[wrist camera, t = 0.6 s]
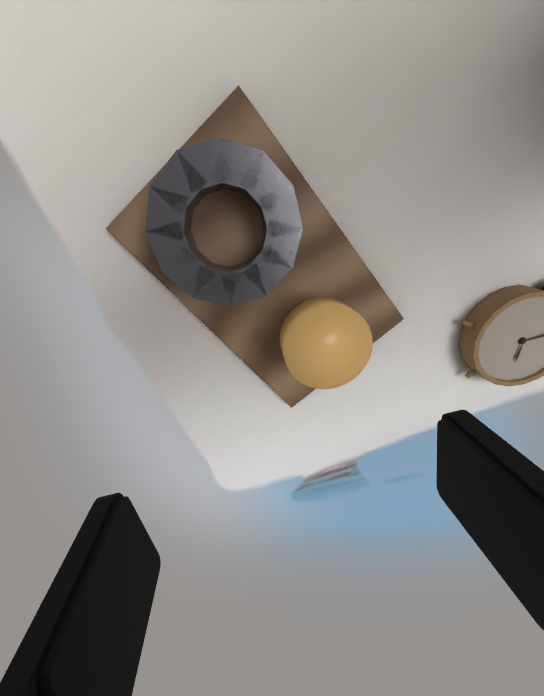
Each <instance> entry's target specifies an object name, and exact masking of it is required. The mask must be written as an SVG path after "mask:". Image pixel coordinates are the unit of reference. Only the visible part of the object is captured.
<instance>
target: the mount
mask: <svg viewBox="0 0 544 696" xmlns="http://www.w3.org/2000/svg"><path fill="white" fill-rule="evenodd" d="M217 137H222V138H225V139H228V140H231V141H235V142H238V143H241V144H244V145H247V146H250V147H253V148H257V149H260V150H263V151H264V152H265V153H266V154H267V156H268V157H269V158H270V159H271V160H272V161H273V163H274V164H275V165H276V166H277V167H278V168H279V169H280V171H281V172H282V173H283V174H284V175H285V176H286V177H287V179H288V180H289V181H290V182H291V183H292V184H293V186H294V190H295V195H296V199H297V204H298V208H299V213H300V217H301V221H302V226H303V231H302V234H301V238H300V242H299V246H298V250H297V253H296V257H295V261H294V265H293V268H292V269H291V270H290V271H289V272H288V274H287V275H286V276H285V277H284V278H283V279H282V280H281V281H280V282H279V283H278V284H277V285H276V286H275V287H274V288H273V289H272V290H271V292H270V293H269V294H268V295H267V296H264V297H261V298H258V299H254V300H251V301H248V302H245V303H241V304H238V305H235V306H232V307H231V306H226V305H222V304H217V303H212V302H208V301H203V300H198V299H194V298H193V297H191V296H190V295H189V294H188V293H187V292H185V291H184V290H183V289H182V288H181V287H179V286H178V285H177V284H176V283H175V282H173V281H172V280H171V279H170V278H169V277H168V276H166V275H165V274H164V273H163V272H162V270H161V268H160V266H159V263H158V261H157V258H156V256H155V254H154V251H153V249H152V247H151V244H150V242H149V240H148V237H147V235H146V233H145V227H146V216H147V206H148V195H149V186H150V185H151V183H152V182H153V181H154V179H155V178H156V177H157V175H158V174H159V173H160V171H161V170H162V169H163V168H164V166H165V165H166V164H167V163H166V164H165V165H164V166H163V168H162V169H161V170H160V171H159V172H158V173H157V174H156V175H155V176H154V177H153V178H152V179H151V180H150V182H149V183H148V184H147V185H146V186H145V187H144V188H143V189H142V190H141V191H140V192H139V193H138V195H137V196H136V197H135V198H134V199H133V200H132V201H131V202H130V203H129V204H128V205H127V206H126V207H125V209H124V210H123V211H122V212H121V213H120V214H119V215H118V216H117V217H116V218H115V219H114V220H113V221H112V223H111V224H110V225H109V226H108V227H107V228H106V229H107V230H108V231H109V232H110V233H111V234H112V235H113V236H114V237H115V238H116V239H117V240H118V241H119V242H120V243H121V244H122V245H123V246H124V247H125V248H126V249H127V250H128V251H129V252H130V253H132V254H133V255H134V256H135V257H136V258H137V259H138V260H139V261H140V262H141V263H142V264H143V265H144V266H145V267H146V268H147V269H148V270H149V271H150V272H151V273H152V274H153V275H154V276H155V277H156V278H157V279H159V280H160V281H161V282H162V283H163V284H164V285H165V286H166V287H167V288H168V289H169V290H170V291H171V292H172V293H173V294H174V295H175V296H176V297H177V298H178V299H179V300H180V301H181V302H182V303H183V304H184V305H186V306H187V307H188V308H189V309H190V310H191V311H192V312H193V313H194V314H195V315H196V316H197V317H198V318H199V319H200V320H201V321H202V322H203V323H204V324H205V325H206V326H207V327H208V328H209V329H210V330H211V331H213V332H214V333H215V334H216V335H217V336H218V337H219V338H220V339H221V340H222V341H223V342H224V343H225V344H226V345H227V346H228V347H229V348H230V349H231V350H232V351H233V352H234V353H235V354H236V355H237V356H238V357H240V358H241V359H242V360H243V361H244V362H245V363H246V364H247V365H248V366H249V367H250V368H251V369H252V370H253V371H254V372H255V373H256V374H257V375H258V376H259V377H260V378H261V379H262V380H263V381H264V382H266V383H267V384H268V385H269V386H270V387H271V388H272V389H273V390H274V391H275V392H276V393H277V394H278V395H279V396H280V397H281V398H282V399H283V400H284V401H285V402H286V403H287V404H288V405H289V406H290V407H291V408H292V407H293V406H294V405H296V404H297V403H298V402H300V401H301V400H302V399H303V398H305V397H306V396H307V395H308V394H310V393H311V392H312V391H313V390H315V389H316V388H312V387H309V386H306V385H304V384H302V383H301V382H299V381H298V380H297V379H296V378H295V377H294V376H293V375H292V374H291V373H290V371H289V369H288V367H287V365H286V362H285V359H284V356H283V353H282V350H281V347H280V332H281V328H282V325H283V323H284V321H285V319H286V317H287V316H288V315H289V313H290V312H291V311H292V310H293V309H294V308H295V307H297V306H298V305H300V304H301V303H303V302H305V301H307V300H310V299H314V298H319V297H328V298H333V299H337V300H339V301H341V302H343V303H344V304H346V305H347V306H349V307H350V308H352V309H353V310H354V311H356V312H357V313H358V314H360V315H361V316H362V317H363V318H364V319H365V321H366V322H367V324H368V325H369V328H370V330H371V334H372V340H373V343H374V342H375V341H377V340H378V339H379V338H380V337H382V336H383V335H384V334H385V333H387V332H388V331H389V330H390V329H392V328H393V327H394V326H395V325H397V324H398V323H399V322H401V321H402V320H403V319H404V318H403V317H402V316H401V314H400V313H399V311H398V310H397V309H396V307H395V306H394V304H393V303H392V301H391V300H390V299H389V297H388V296H387V294H386V293H385V292H384V290H383V289H382V287H381V286H380V285H379V283H378V282H377V280H376V279H375V277H374V276H373V275H372V273H371V272H370V270H369V269H368V268H367V266H366V265H365V263H364V262H363V261H362V259H361V258H360V256H359V255H358V253H357V252H356V251H355V249H354V248H353V246H352V245H351V244H350V242H349V241H348V239H347V238H346V236H345V235H344V234H343V232H342V231H341V229H340V228H339V227H338V225H337V224H336V222H335V221H334V220H333V218H332V217H331V215H330V214H329V212H328V211H327V210H326V208H325V207H324V205H323V204H322V203H321V201H320V200H319V198H318V197H317V196H316V194H315V193H314V191H313V190H312V188H311V187H310V186H309V184H308V183H307V181H306V180H305V179H304V177H303V176H302V174H301V173H300V172H299V170H298V169H297V167H296V166H295V164H294V163H293V162H292V160H291V159H290V157H289V156H288V155H287V153H286V152H285V150H284V149H283V148H282V146H281V145H280V143H279V142H278V140H277V139H276V138H275V136H274V135H273V133H272V132H271V131H270V129H269V128H268V126H267V125H266V124H265V122H264V121H263V119H262V118H261V116H260V115H259V114H258V112H257V111H256V109H255V108H254V107H253V105H252V104H251V102H250V101H249V99H248V98H247V97H246V95H245V94H244V92H243V91H242V90H241V88H240V87H239V86H238V87H237V88H236V89H235V90H234V91H233V92H232V93H231V94H230V95H229V96H228V98H227V99H226V100H225V101H224V102H223V103H222V104H221V105H220V106H219V107H218V108H217V109H216V110H215V112H214V113H213V114H212V115H211V116H210V117H209V118H208V119H207V120H206V121H205V122H204V123H203V124H202V126H201V127H200V128H199V129H198V130H197V131H196V132H195V133H194V134H193V135H192V136H191V137H190V138H189V140H188V141H187V142H186V143H185V144H184V145H183V146H182V147H181V148H180V149H182V148H185V147H188V146H192V145H195V144H198V143H201V142H204V141H207V140H211V139H214V138H217ZM263 230H264V228H263V225H262V221H261V217H260V214H259V210H258V208H257V207H256V206H255V205H254V204H253V203H252V202H251V201H250V200H249V199H248V198H247V197H246V196H245V195H244V194H241V193H238V192H234V191H231V190H227V189H223V190H220V191H216V192H213V193H210V194H207V195H205V197H204V198H203V199H202V200H201V202H200V203H199V204H198V205H197V207H196V208H195V209H194V211H193V218H192V225H191V232H192V235H193V238H194V241H195V243H196V246H197V249H198V250H199V251H200V252H201V253H202V254H203V255H204V256H206V257H207V258H208V259H209V260H210V261H211V262H212V263H216V264H221V265H225V266H229V267H231V266H234V265H237V264H241V263H244V262H247V261H248V260H249V259H250V258H251V257H252V256H253V254H254V253H255V252H256V251H257V250H258V249H259V248H260V243H261V239H262V234H263Z"/></svg>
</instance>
